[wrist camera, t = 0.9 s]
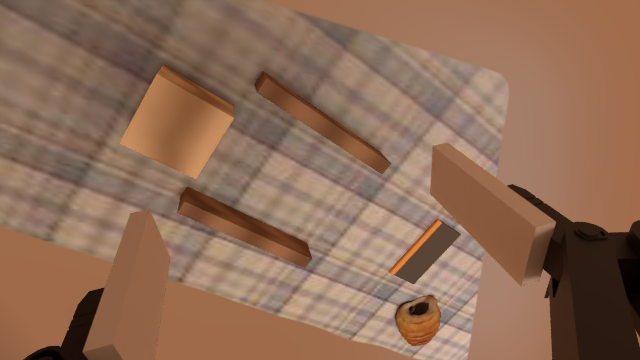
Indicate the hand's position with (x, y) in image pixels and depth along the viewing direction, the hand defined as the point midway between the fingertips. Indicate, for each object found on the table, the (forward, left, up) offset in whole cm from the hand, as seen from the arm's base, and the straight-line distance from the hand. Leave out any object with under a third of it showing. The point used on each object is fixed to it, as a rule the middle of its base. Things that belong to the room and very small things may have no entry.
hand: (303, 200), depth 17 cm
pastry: (+39, -16, -22) cm, 48 cm away
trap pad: (+31, -7, -22) cm, 39 cm away
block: (-5, -7, -22) cm, 23 cm away
